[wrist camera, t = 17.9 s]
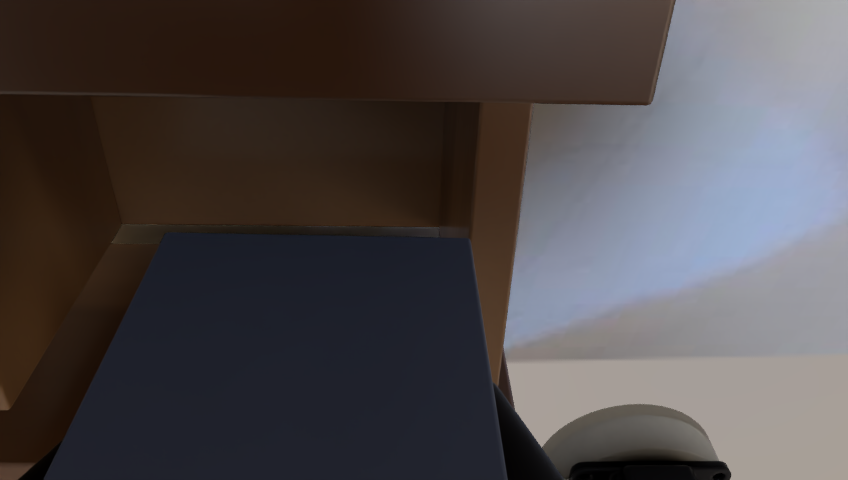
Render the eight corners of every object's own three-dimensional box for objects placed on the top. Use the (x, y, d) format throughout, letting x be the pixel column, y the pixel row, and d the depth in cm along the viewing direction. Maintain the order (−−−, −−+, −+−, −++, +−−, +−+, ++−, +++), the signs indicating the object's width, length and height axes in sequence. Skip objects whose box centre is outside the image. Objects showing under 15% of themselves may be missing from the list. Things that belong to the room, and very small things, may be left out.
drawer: (470, 397, 24) (497, 627, 18) (136, 398, 24) (37, 633, 17) (535, -270, 14) (658, -304, 7) (-60, -295, 13) (-495, -353, 7)
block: (470, 236, 9) (511, 498, 6) (450, 437, 12) (473, 708, 8) (164, 229, 9) (30, 496, 6) (204, 436, 11) (125, 713, 8)
